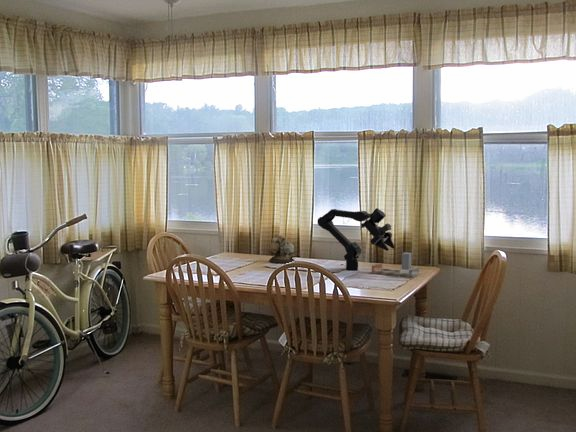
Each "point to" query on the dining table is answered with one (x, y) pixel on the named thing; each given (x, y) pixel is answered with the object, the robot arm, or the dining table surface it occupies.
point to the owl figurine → (281, 250)
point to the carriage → (406, 262)
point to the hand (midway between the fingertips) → (391, 249)
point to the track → (394, 271)
